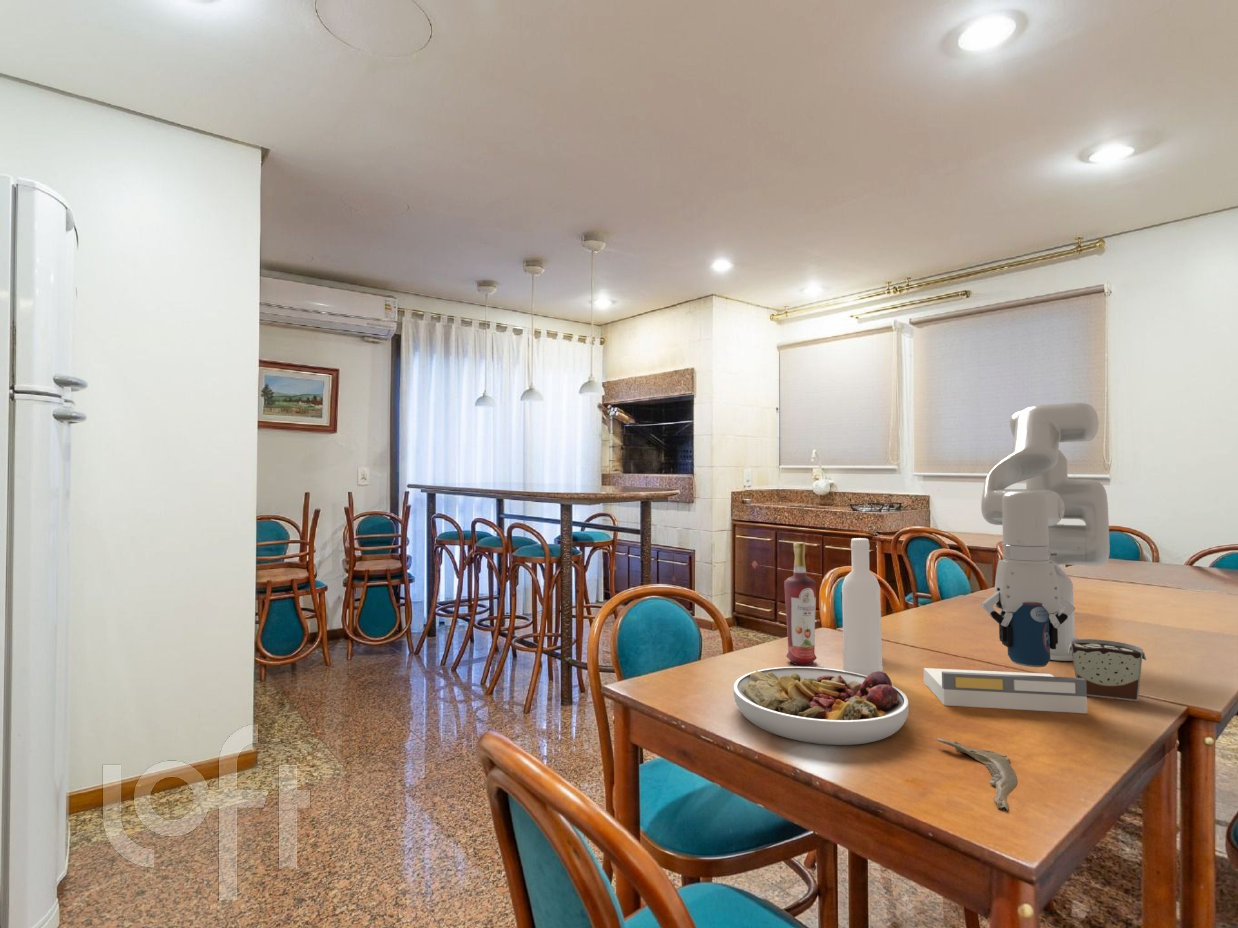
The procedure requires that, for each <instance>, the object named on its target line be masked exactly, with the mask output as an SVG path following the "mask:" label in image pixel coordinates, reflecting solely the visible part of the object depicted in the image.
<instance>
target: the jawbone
mask: <svg viewBox="0 0 1238 928" xmlns="http://www.w3.org/2000/svg"><path fill="white" fill-rule="evenodd" d="M935 741H938V742H940V743H942V744H944V745H948V746H951V747H953V748H954V750H955V751H956V752H959V753H964V754H967V755H968V756H970V757H971V758H973V759H975V761H977V762H979V763H981V764H983V765H985V766H986V769H987V770H988V771H989V772H990V774H991V775H992V776H991V777H992V778H991V779H990V781H989V784H990V785H991V786H993V787H995V792H996V794H995V796H994V799H993V800H994V802H995V804H996V806H997V810H1000V811H1002V812H1005V813H1007V812H1008V811H1009V804H1008V796H1009V794H1010V793H1012V791H1013V790H1014V789H1015V788H1016V786H1017V784H1018V782H1019V781H1018V776H1017V773H1016V772H1015V770H1014V768H1013V767H1012V765H1011V764H1010V762H1011V760H1010V758H1009V757H1008V756H1007V755H1005V754H1002V753H999V752H996V751H993V750H992V751H991V750H986V749H983V750H982V749H976V748H971V747H968V746H966V745H963V744H961V742H958V741H956V740H955V741H954V742H953V741H950V740H946V739H942V738H940V737H936V740H935ZM1005 809H1006V810H1005Z"/></svg>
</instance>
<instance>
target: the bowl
mask: <svg viewBox="0 0 1238 928" xmlns="http://www.w3.org/2000/svg"><path fill="white" fill-rule="evenodd" d="M733 698H734V702H735V703H736V704H735V705H736V706H737V708H738V710H739V711H740V713H741V714H742V715H743V716H744V717H745V718H746V719H747V720H748V721H750V722H751V723H752V724H754V725H755V726H756V727H758V728H760V729H762V730H763V731H765V732H766V731H767V732H768V733H770V734H774V735H777V736H780V737H782V738H786V739H790V740H794V741H798V742H803V743H810V744H815V745H816V744H817V745H826V746H827V745H828V746H853V745H863V744H868V743H875V742H877V741H880V740H884V739H886V738H889V737H890V736H893V734H895V733H897V732H898V731H899V730H900V729H901V728H902V727H903V726H904V724H905V722H906V721H907V719H908V715H909V707H910V705H909V699H908V697H907V695H906V694H905V692H903V691H902V690H901V689H899V688H898V687H896V686H894V685H892V681H891V678H890V677H889V676H888V674H887V673H886V672H884V671H883V672H881V671H877V672H872V673H871V674H870V675H868V676H866V675H862V674H858V673H853V672H848V671H844V670H843V669H837V668H835V669H834V668H826V667H816V666H815V667H814V666H782V667H770V668H764V669H759V670H755V671H751V672H749V673H746V674H744V675H742V676H740V677H738V678H737V680H735V681H734V684H733Z"/></svg>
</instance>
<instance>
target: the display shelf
mask: <svg viewBox="0 0 1238 928" xmlns="http://www.w3.org/2000/svg"><path fill="white" fill-rule="evenodd" d="M923 683H924V684H925V685H926V687H927V688H929V690H930V691H931V692H932V693H933V695H934V696H935V697H936V698H937V699H938V700H939V701H940V703H941V704H943V706H946V707H947V706H951V707H952V706H953V707H965V708H966V707H967V708H968V707H969V708H983V709H985V708H986V709H1004V710H1018V711H1019V710H1020V711H1037V712H1038V711H1039V712H1057V713H1074V714H1075V713H1076V714H1088V696H1087V688H1086V680H1085V679H1084V678H1076V677H1069V676H1067V677H1066V676H1054V675H1053V674H1051V673H1041V672H1040V673H1039V672H1022V671H1021V672H1020V671H1019V672H1014V671H1000V670H999V671H996V670H993V671H992V670H977V669H976V670H975V669H974V670H973V669H970V670H969V669H957V668H956V669H955V668H954V669H950V668H933V667H932V668H931V667H923Z"/></svg>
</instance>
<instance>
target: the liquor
mask: <svg viewBox="0 0 1238 928" xmlns="http://www.w3.org/2000/svg"><path fill="white" fill-rule="evenodd" d="M793 553H794V563H793V575H792V576H789V577H788V578H786V579H785V580H784V581H783V584H784V585H783V587H784V600H785V602H784V603H785V614H786V615H785V617H786V629H787V630H786V631H787V654H786V658H787V659H788V660H789V661H790V662H791V663H793V664H795V665H798V666H810V665H811V664H813V663H814V662H815V661H816V659H817V655H816V653H815V646H816V645H815V637H816V636H815V632H816V631H815V630H816V610H817V609H816V606H817V603H816V602H817V581H815V580H814V579H813V578H811V577H809V576H807V569H806V568H807V567H806V560H805V559H806V557H805V556H806V542H793ZM809 664H810V665H809Z"/></svg>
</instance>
